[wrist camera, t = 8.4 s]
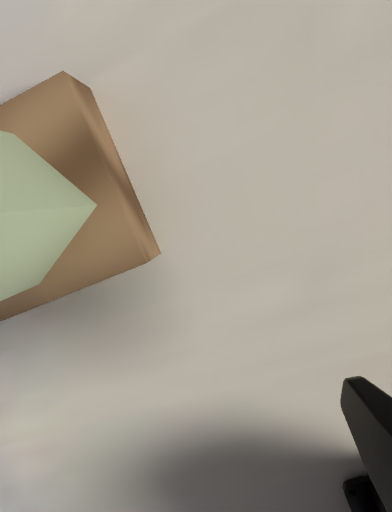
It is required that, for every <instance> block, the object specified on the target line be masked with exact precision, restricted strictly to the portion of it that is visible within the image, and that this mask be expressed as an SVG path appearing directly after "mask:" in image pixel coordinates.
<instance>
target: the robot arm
mask: <svg viewBox="0 0 392 512" xmlns="http://www.w3.org/2000/svg"><path fill="white" fill-rule="evenodd" d="M340 402H341V408H342V411H343V414H344V416H345V419H346V421H347V424H348V426H349V429H350V431H351V433H352V436H353V438H354V441H355V443H356V446H357V448H358V451H359V453H360V456H361V458H362V461H363V463H364V465H365V468H366V470H367V472H368V475H367V476H362V477H358V478H353V479H349V480H346V481H345V482H344V483H343V490H344V493H345V496H346V498H347V501H348V503H349V506H350V508H351V511H352V512H392V397H391V396H389V395H388V394H386V393H385V392H384V391H382V390H381V389H379V388H378V387H377V386H375V385H374V384H372V383H371V382H369V381H368V380H367V379H365V378H363V377H361V376H356V377H350V378H346V379H345V380H344V381H343V387H342V393H341V400H340ZM351 488H354V490H350V489H351Z"/></svg>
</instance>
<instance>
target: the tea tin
mask: <svg viewBox="0 0 392 512" xmlns="http://www.w3.org/2000/svg"><path fill="white" fill-rule="evenodd" d="M96 206H97V204H96V203H94V202H93V201H92V200H91V199H90V198H89V197H87V196H86V195H85V194H84V193H83V192H82V191H80V190H79V189H78V188H77V187H76V186H75V185H73V184H72V183H71V182H70V181H69V180H67V179H66V178H65V177H64V176H63V175H62V174H60V173H59V172H58V171H57V170H56V169H55V168H53V167H52V166H51V165H50V164H49V163H47V162H46V161H45V160H44V159H43V158H42V157H40V156H39V155H38V154H37V153H36V152H35V151H33V150H32V149H31V148H30V147H29V146H27V145H26V144H25V143H24V142H23V141H22V140H20V139H19V138H18V137H17V136H16V135H15V134H12V133H8V132H4V131H0V301H2V300H4V299H7V298H9V297H11V296H13V295H16V294H18V293H20V292H22V291H25V290H27V289H29V288H32V287H34V286H36V285H38V284H40V282H41V281H42V280H43V278H44V277H45V276H46V274H47V273H48V272H49V270H50V269H51V267H52V266H53V265H54V263H55V262H56V261H57V259H58V258H59V257H60V255H61V254H62V252H63V251H64V250H65V248H66V247H67V246H68V244H69V243H70V242H71V240H72V239H73V237H74V236H75V235H76V233H77V232H78V231H79V229H80V228H81V227H82V225H83V224H84V222H85V221H86V220H87V218H88V217H89V216H90V214H91V213H92V212H93V210H94V209H95V208H96Z"/></svg>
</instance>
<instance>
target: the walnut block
mask: <svg viewBox="0 0 392 512" xmlns="http://www.w3.org/2000/svg"><path fill="white" fill-rule="evenodd" d="M0 131H4V132H8V133H12V134H15V135H16V136H17V137H18V138H19V139H20V140H22V141H23V142H24V143H25V144H26V145H27V146H29V147H30V148H31V149H32V150H33V151H35V152H36V153H37V154H38V155H39V156H40V157H42V158H43V159H44V160H45V161H46V162H47V163H49V164H50V165H51V166H52V167H53V168H55V169H56V170H57V171H58V172H59V173H60V174H62V175H63V176H64V177H65V178H66V179H67V180H69V181H70V182H71V183H72V184H73V185H75V186H76V187H77V188H78V189H79V190H80V191H82V192H83V193H84V194H85V195H86V196H87V197H89V198H90V199H91V200H92V201H93V202H94V203H96V204H97V206H96V208H95V209H94V210H93V212H92V213H91V214H90V216H89V217H88V218H87V220H86V221H85V222H84V224H83V225H82V227H81V228H80V229H79V231H78V232H77V233H76V235H75V236H74V237H73V239H72V240H71V242H70V243H69V244H68V246H67V247H66V248H65V250H64V251H63V252H62V254H61V255H60V257H59V258H58V259H57V261H56V262H55V263H54V265H53V266H52V267H51V269H50V270H49V272H48V273H47V274H46V276H45V277H44V278H43V280H42V281H41V282H40V284H38V285H36V286H34V287H32V288H29V289H27V290H25V291H22V292H20V293H18V294H16V295H13V296H11V297H9V298H7V299H4V300H2V301H0V321H2V320H5V319H7V318H10V317H12V316H15V315H17V314H20V313H22V312H25V311H27V310H30V309H32V308H35V307H37V306H40V305H42V304H45V303H47V302H50V301H52V300H55V299H57V298H60V297H62V296H65V295H67V294H70V293H72V292H75V291H77V290H80V289H82V288H85V287H87V286H90V285H92V284H95V283H97V282H100V281H102V280H105V279H107V278H110V277H112V276H115V275H117V274H120V273H122V272H125V271H127V270H130V269H132V268H135V267H137V266H140V265H142V264H145V263H147V262H149V261H150V260H151V259H153V258H154V257H156V256H157V255H159V254H160V253H161V252H160V250H159V247H158V245H157V243H156V240H155V238H154V236H153V233H152V231H151V229H150V226H149V224H148V222H147V220H146V217H145V215H144V213H143V210H142V208H141V206H140V203H139V201H138V199H137V196H136V194H135V192H134V189H133V187H132V185H131V182H130V180H129V178H128V175H127V173H126V171H125V168H124V166H123V164H122V161H121V159H120V157H119V154H118V152H117V150H116V147H115V145H114V143H113V140H112V138H111V136H110V133H109V131H108V129H107V126H106V124H105V122H104V119H103V117H102V115H101V112H100V110H99V108H98V105H97V103H96V101H95V98H94V96H93V94H92V92H91V89H90V88H89V87H87V86H86V85H84V84H83V83H81V82H80V81H78V80H77V79H75V78H73V77H72V76H70V75H69V74H67V73H66V72H64V71H62V72H60V73H58V74H56V75H54V76H53V77H51V78H49V79H47V80H45V81H44V82H42V83H40V84H38V85H36V86H35V87H33V88H31V89H29V90H27V91H26V92H24V93H22V94H20V95H18V96H17V97H15V98H13V99H11V100H9V101H8V102H6V103H4V104H2V105H0Z"/></svg>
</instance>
